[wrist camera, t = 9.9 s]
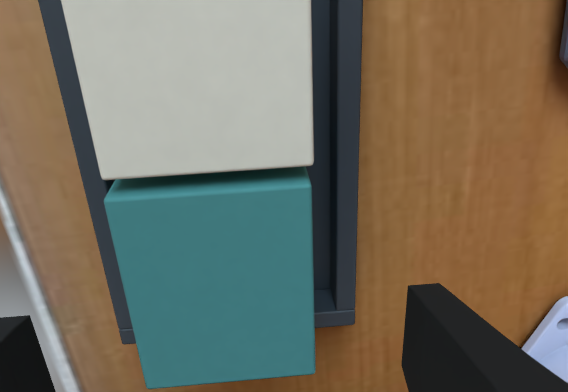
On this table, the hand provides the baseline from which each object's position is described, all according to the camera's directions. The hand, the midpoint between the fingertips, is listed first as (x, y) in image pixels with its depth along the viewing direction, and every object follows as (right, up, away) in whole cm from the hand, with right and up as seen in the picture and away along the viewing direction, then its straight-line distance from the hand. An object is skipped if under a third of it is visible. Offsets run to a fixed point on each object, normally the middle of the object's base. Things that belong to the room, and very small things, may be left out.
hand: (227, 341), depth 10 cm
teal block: (-1, +3, +5) cm, 6 cm away
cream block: (-1, +7, +3) cm, 8 cm away
